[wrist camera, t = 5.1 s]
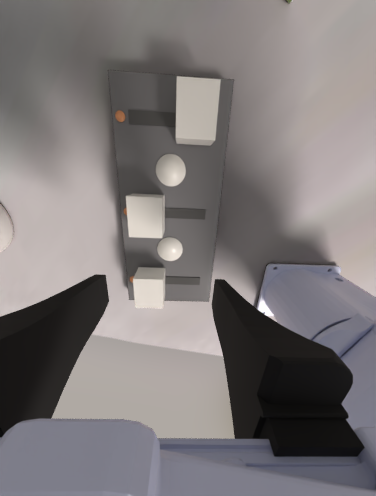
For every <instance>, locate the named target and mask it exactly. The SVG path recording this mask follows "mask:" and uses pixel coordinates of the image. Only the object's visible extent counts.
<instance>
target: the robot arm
mask: <svg viewBox="0 0 376 496" xmlns="http://www.w3.org/2000/svg"><path fill="white" fill-rule="evenodd" d="M274 267H276V268H275V269H273V268H274ZM328 269H329V270H328ZM340 272H341V268H340V267H339V266H332V265H299V264H268V265H267V267H266V270H265V275H264V279H263V283H262V287H261V291H260V296H259V300H258V304H257V308H255V307H254V306H252V305H251V304H250V303H249V302H248V301H246V300H245V299H244V298H243V297H242V296H241V295H240V294H239V293H237V292H236V291H235V290H234V289H233V288H232V287H231V286H230V285H229V284H228V283H227V282H226V281H225V280H221V279H215V284H214V292H213V300H212V309H213V317H214V321H215V325H216V329H217V333H218V337H219V341H220V344H221V348H222V352H223V357H224V363H225V368H226V375H227V382H228V389H229V396H230V403H231V410H232V418H233V426H234V435H235V439H185V438H184V439H183V438H182V439H180V438H179V439H177V438H157V437H156V434H155V433H154V431H153V429H152V428H150V427H148V426H146V425H144V424H142V423H140V422H136V421H130V420H124V419H51V418H52V415H53V413H54V410H55V408H56V406H57V403H58V401H59V399H60V396H61V394H62V391H63V389H64V387H65V385H66V383H67V380H68V378H69V376H70V374H71V371H72V369H73V367H74V365H75V363H76V361H77V359H78V357H79V355H80V353H81V351H82V349H83V347H84V346H85V344H86V342H87V341H88V339H89V337H90V336H91V334H92V332H93V331H94V329H95V328H96V326H97V324H98V322H99V321H100V319H101V317H102V316H103V314H104V311H105V309H106V307H107V304H108V302H109V297H108V290H107V282H106V275H94V276H92V277H90V278H88V279H86V280H84V281H82V282H80V283H78V284H76V285H74V286H72V287H70V288H68V289H67V290H65V291H62V292H60V293H58V294H56V295H54V296H52V297H50V298H48V299H46V300H44V301H41V302H39V303H37V304H34V305H32V306H29V307H27V308H24V309H21V310H19V311H16V312H13V313H10V314H7V315H4V316H1V317H0V496H376V297H374V296H373V295H371V294H369V293H368V292H366V291H365V290H363V289H361V288H360V287H358V286H357V285H355V284H353V283H352V282H350V281H349V280H347V279H346V278H344V277H342V276H341V275H339V274H340ZM262 312H263V313H262ZM268 316H274V317H275V319H276V320H277V322H278V323H277V322H275V321H274V320H272V319H271V318H269V317H268Z"/></svg>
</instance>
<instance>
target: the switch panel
mask: <svg viewBox="0 0 376 496" xmlns="http://www.w3.org/2000/svg"><path fill="white" fill-rule="evenodd" d="M177 76H181V77H194V78H208V77H195V76H182V75H168V74H155V73H142V72H129V71H116V70H108V77H109V87H110V98H111V109H112V120H113V131H114V141H115V152H116V163H117V174H118V185H119V196H120V206H121V217H122V228H123V239H124V250H125V260H126V271H127V282H128V293H129V300H134V287H133V278H134V276H135V274H136V272H137V270H138V267H150V268H165V299H164V301H204V302H209V297H210V289H211V280H212V271H213V262H214V253H215V244H216V235H217V226H218V217H219V209H220V200H221V191H222V182H223V173H224V164H225V155H226V146H227V137H228V128H229V120H230V111H231V102H232V93H233V84H234V79H221V78H208V79H221V82H220V93H219V104H218V115H217V126H216V137H215V141H214V142H213V143H212V145H211V146H208V145H191V144H177V143H176V88H177ZM130 194H155V195H165V231H164V234H163V237H162V238H137V237H129V232H128V219H127V207H126V196H128V195H130Z"/></svg>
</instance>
